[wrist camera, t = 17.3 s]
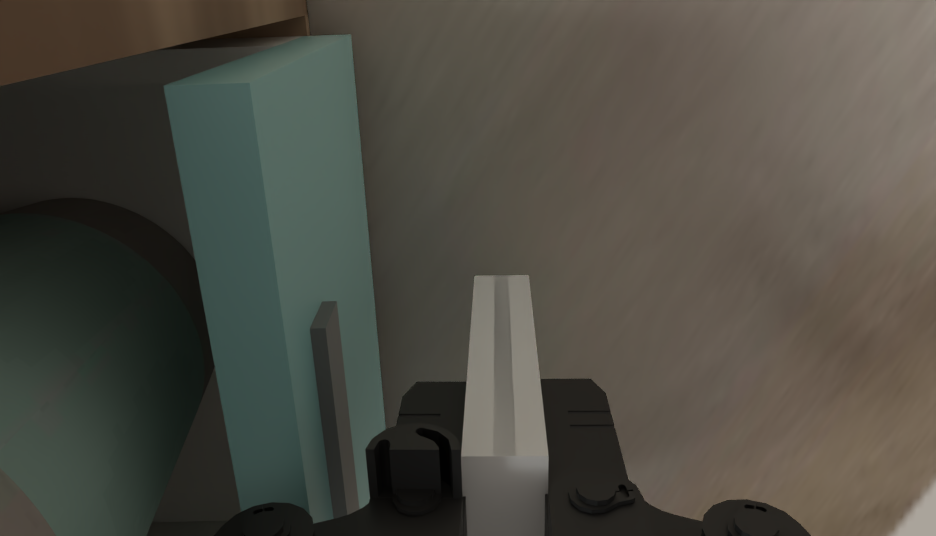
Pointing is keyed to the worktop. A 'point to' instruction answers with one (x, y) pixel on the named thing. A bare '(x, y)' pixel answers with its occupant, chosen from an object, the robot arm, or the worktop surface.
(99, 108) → the teal drawer
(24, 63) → the cubby
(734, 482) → the worktop surface
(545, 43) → the worktop surface
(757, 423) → the worktop surface
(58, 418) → the coffee cup
